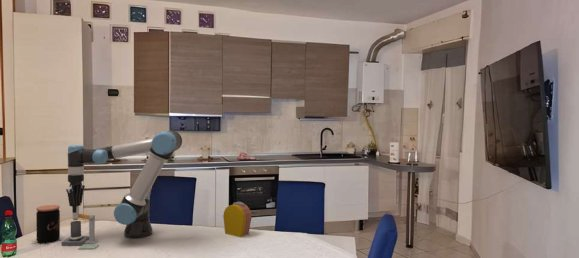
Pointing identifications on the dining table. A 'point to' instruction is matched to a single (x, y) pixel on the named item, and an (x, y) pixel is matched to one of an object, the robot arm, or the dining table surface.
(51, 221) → the coffee jar
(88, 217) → the clip
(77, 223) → the plug
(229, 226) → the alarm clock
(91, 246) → the mat
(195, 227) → the dining table surface
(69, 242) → the socket
